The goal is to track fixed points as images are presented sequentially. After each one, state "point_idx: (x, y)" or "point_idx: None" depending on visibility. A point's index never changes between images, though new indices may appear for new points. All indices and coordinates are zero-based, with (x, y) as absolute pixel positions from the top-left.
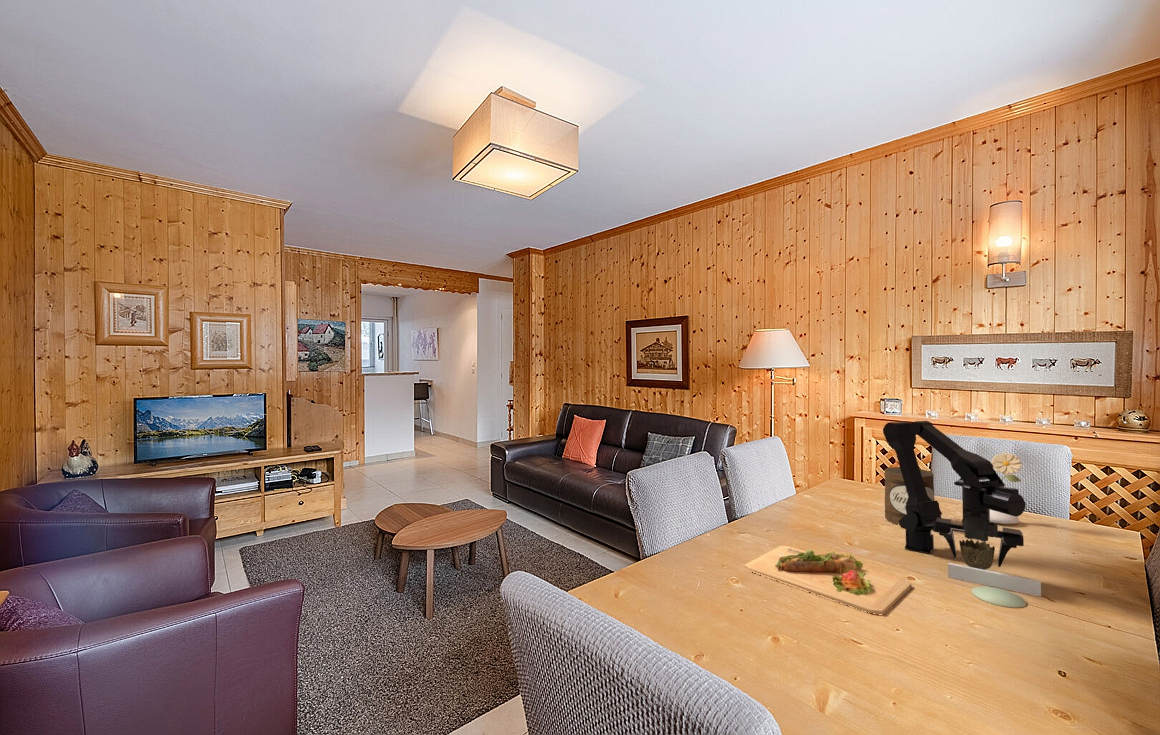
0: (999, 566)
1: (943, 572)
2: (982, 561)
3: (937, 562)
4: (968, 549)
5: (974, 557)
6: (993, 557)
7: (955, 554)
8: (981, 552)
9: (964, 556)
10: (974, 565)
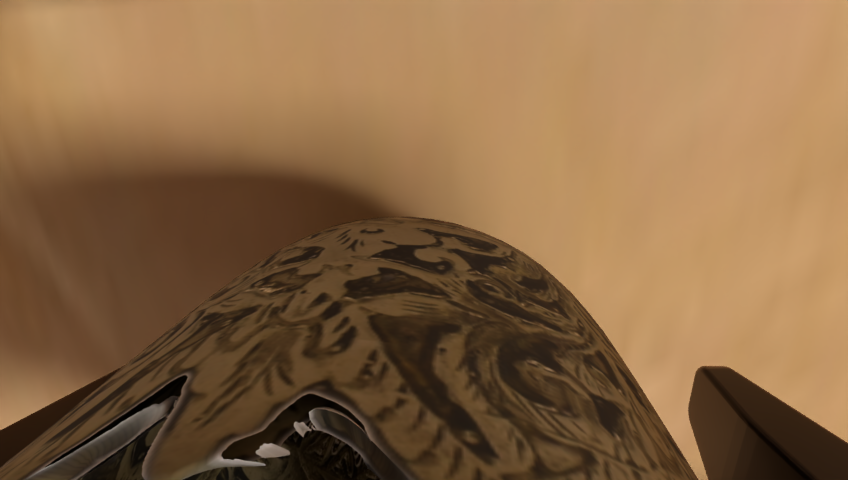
0: None
1: (838, 39)
2: (275, 262)
3: (831, 374)
4: (568, 435)
5: (404, 269)
6: (127, 474)
7: (752, 412)
8: (154, 386)
9: (607, 342)
10: (431, 219)
